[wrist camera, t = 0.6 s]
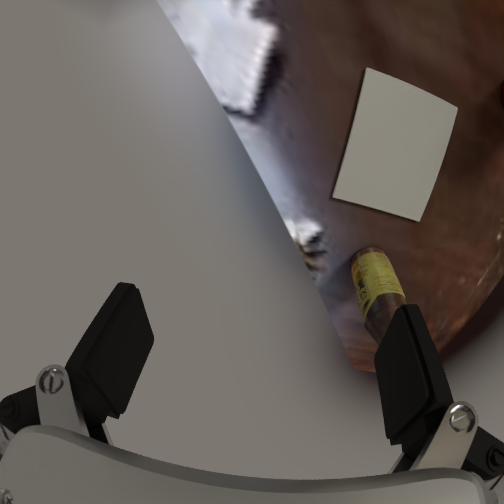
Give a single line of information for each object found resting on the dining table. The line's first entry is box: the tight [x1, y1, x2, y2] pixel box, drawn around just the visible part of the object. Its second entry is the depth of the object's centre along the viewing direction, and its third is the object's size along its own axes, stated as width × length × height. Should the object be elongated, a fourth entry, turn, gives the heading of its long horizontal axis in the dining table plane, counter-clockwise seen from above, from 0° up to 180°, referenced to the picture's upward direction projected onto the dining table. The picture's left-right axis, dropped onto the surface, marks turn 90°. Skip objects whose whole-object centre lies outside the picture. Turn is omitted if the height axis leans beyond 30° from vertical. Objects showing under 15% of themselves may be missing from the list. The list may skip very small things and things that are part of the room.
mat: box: [332, 68, 458, 221], centre depth 32 cm, size 18×14×1 cm
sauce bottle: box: [351, 247, 407, 346], centre depth 34 cm, size 6×6×20 cm
